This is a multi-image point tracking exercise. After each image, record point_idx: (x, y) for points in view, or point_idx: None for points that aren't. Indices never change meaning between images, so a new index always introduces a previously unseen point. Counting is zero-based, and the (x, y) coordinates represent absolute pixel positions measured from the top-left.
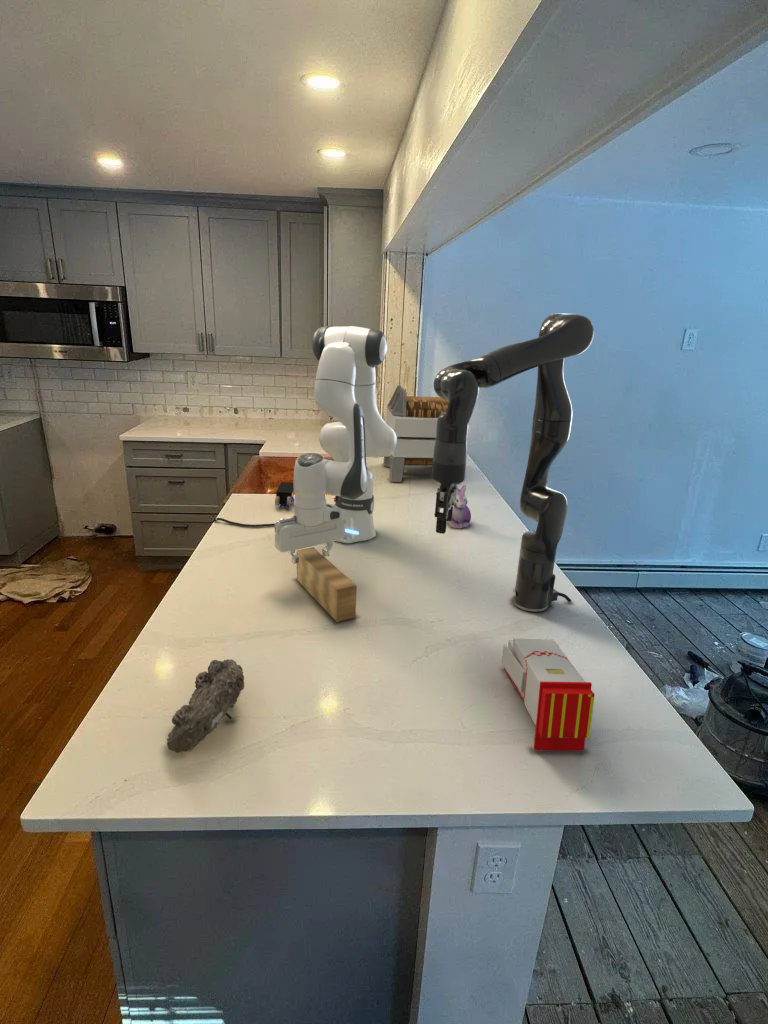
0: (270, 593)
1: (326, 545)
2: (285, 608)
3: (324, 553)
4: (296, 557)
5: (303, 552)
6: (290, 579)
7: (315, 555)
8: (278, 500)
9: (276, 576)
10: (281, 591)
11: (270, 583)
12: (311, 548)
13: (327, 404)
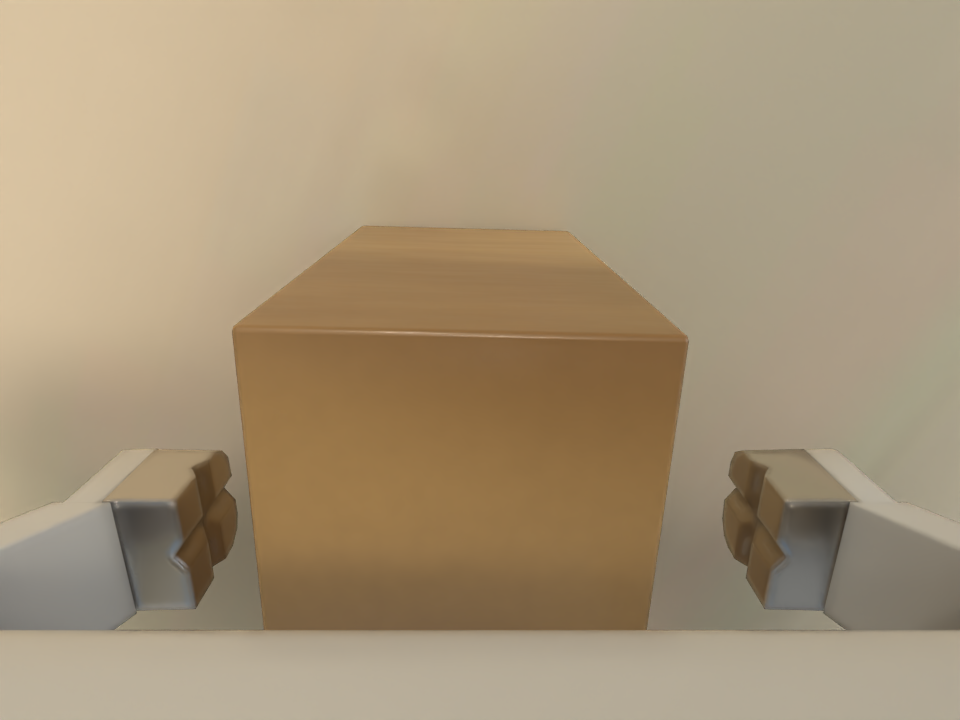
0: (19, 383)
1: (937, 561)
2: None
3: (749, 562)
4: (149, 593)
5: (345, 496)
6: (299, 184)
7: None
8: None
9: (161, 20)
10: (134, 393)
11: (55, 172)
12: (603, 386)
13: None
